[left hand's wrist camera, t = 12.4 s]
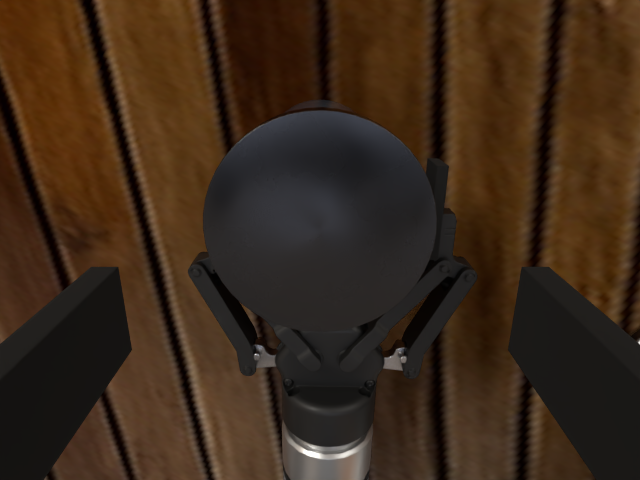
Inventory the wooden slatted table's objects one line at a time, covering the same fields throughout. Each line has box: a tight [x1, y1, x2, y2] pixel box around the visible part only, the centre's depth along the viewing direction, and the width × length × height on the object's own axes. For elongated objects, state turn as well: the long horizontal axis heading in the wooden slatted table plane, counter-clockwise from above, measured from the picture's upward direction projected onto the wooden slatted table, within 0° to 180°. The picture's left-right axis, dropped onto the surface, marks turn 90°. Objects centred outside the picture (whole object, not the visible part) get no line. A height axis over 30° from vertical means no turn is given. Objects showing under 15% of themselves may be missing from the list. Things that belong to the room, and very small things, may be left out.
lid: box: [203, 107, 437, 332], centre depth 21 cm, size 10×10×2 cm
